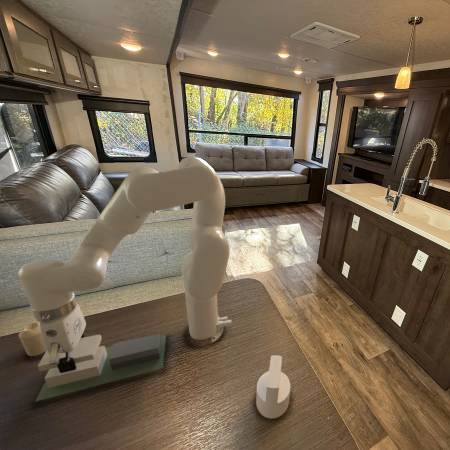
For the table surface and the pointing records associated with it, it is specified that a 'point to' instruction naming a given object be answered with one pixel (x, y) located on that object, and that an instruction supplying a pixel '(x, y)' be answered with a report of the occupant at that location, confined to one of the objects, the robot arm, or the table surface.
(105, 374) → the shelf board
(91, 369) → the white book
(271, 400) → the base with upright slab
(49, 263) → the robot arm
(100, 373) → the white book
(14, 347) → the table surface
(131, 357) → the grey book
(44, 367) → the white book
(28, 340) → the candle
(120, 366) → the grey book
